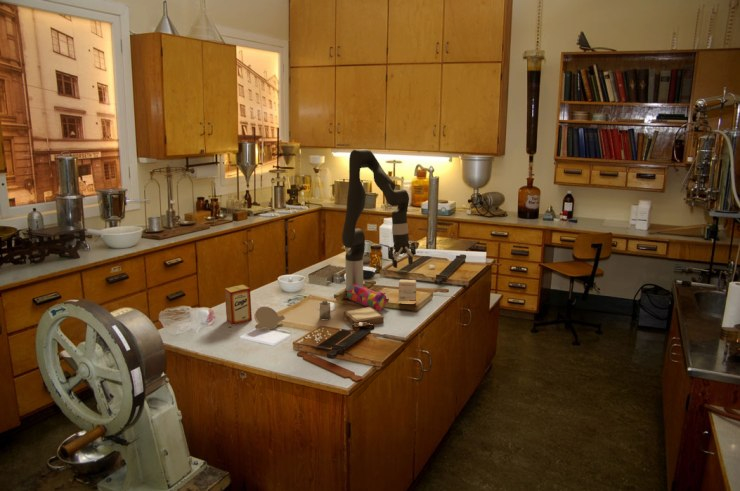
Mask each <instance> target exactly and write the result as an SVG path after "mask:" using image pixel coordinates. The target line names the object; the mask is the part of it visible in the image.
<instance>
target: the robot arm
mask: <svg viewBox="0 0 740 491" xmlns="http://www.w3.org/2000/svg"><path fill="white" fill-rule="evenodd" d="M348 161H349V162H348V164H349V166H348V169H349V170H348V173H349V174H348V177H349V178H348V189H347V190H348V191H347V196H346V197H347V199H346V211H345V219H344V224H343V229H342V234H341V241H342V245H343V246H344V247H345V248H346V249H349V250H348V251H347V252H346V253H345V256H344V258H345V259H344V260H345V291H346V292H347V291H348V288H349V287H350V286H351V285H355V284H358V285H360V286H362V287H364V254H365V251H366V250H365V246H366V236H365V232H364V231H363V230H362V229H361V228H356V227H357V224H358V223H357V222H358V220H359V218H360V217H361V215H362V213H363V211H364V209H365V206H366V199H367V198H366V197H367V196H366V195H367V194H366V190H365V188H364V185H363V184H362V180H361V169H366V168H367V169H369V170H370V171H371V172H372V174H373V181H374V183H375V185H376V186H377V187H378V189H379V190H380V191H381V192H382V193H383V196H384V198H385V201H386V203H387V204H388V205H390V206H392V207H396V206H397V208H396V209H395V210H394V211H392V212H391V223H392V224H391V225H392V226H391V229H392V242H393V246H388V247H387V258H388V259H389V260H391V261H392V267H393V268H395V269H397V268H398V260H397V259H398V257H399V256H400V255H403V254H407V259H408V260H407V261H408V262H407V263H408V265H413V262H414V260H413V257H414V256H415V255H417V251H416V250H417V249H416V244H415V242H412V241H410V236H409V234H410V233H409V225H408V216H407V214H408V209H409V204H410V195H409V192H408V191H407V190H405V189H396V185H397V184H396V183H395V182H394V181H393V180H392V178H391V177H390V176H389V175H388V174H387V173H386V172H385V170H384V168H383V167H382V166H381V164H380V162H379V161H378V160H377V158H376V156H375V153H373V151H371V150H370V149H368V148H359V149H357V148H356V149H352V150H351V152H350V154H349V160H348ZM409 248H410V249H409Z"/></svg>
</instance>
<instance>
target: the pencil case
mask: <svg viewBox="0 0 740 491" xmlns="http://www.w3.org/2000/svg"><path fill="white" fill-rule="evenodd" d="M346 297H347V299H348V300H349V301H353V302H354V303H356V304H359V305H362V306H365V307H372V308H373V309H374V310H375V311H377V312H379V311H381V310H383V309H384V308H385V307H386V305H387V303H388V302H389V301H390V298H387V296H386V292H381V291H378V292H377V291H374V290H372V289H369V288H368V287H365V286H363V287H362V286H360V285H358V284H355V285H351V286H350V287H349V288H348V291H346Z"/></svg>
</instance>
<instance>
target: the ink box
mask: <svg viewBox="0 0 740 491" xmlns="http://www.w3.org/2000/svg"><path fill="white" fill-rule="evenodd" d="M399 301H416V302H417V280H416V279H399V280H398V302H399Z"/></svg>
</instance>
